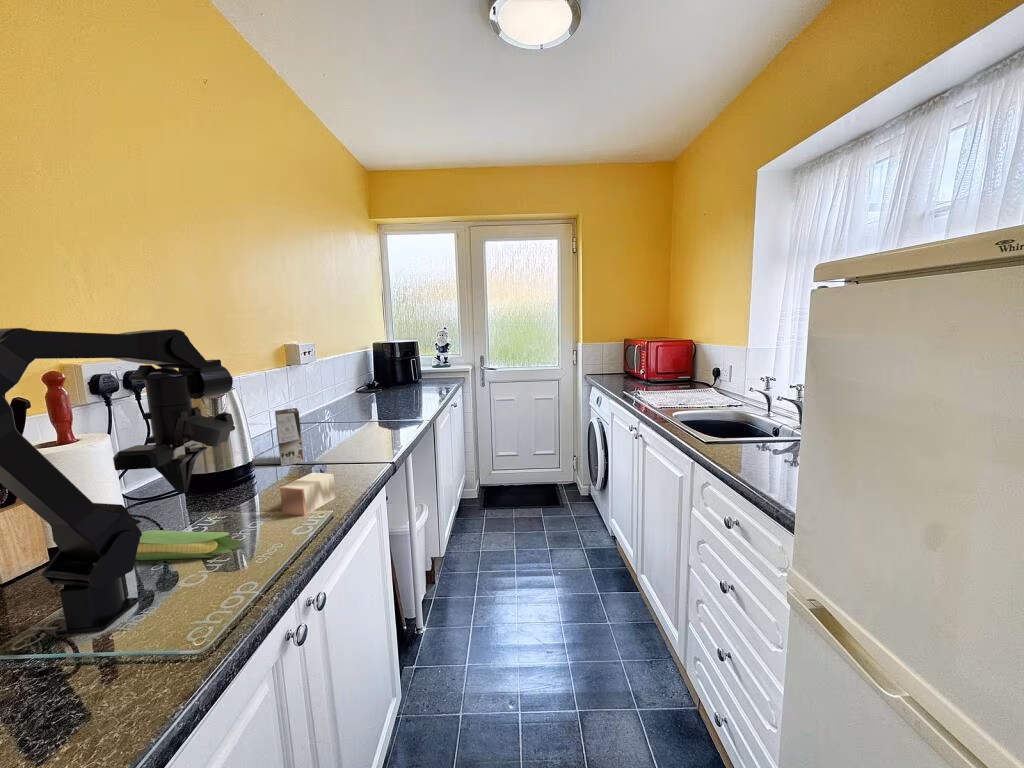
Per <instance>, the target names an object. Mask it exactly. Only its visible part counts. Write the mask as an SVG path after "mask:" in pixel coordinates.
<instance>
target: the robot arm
mask: <svg viewBox="0 0 1024 768" xmlns="http://www.w3.org/2000/svg"><path fill="white" fill-rule="evenodd" d="M36 359H37V360H40V359H41V360H42V359H43V360H45V359H46V360H48V359H49V360H51V359H52V360H53V359H55V360H57V359H59V360H60V359H65V360H67V359H114V360H120V361H125V362H129V363H135V364H142V365H139V366H138V368H137V369H136V370H135V371H134V372H132V374H131V373H130V375H129V377H128V380H129V381H132V382H133V381H140V382H141V381H142V382H144V385H145V386H144V387H145V392H146V399H147V407H148V408H147V409H148V411H147V412H143V413H142V420H144V421H145V420H150V427H151V434H152V435H151V436H149V437H145V440H146V444H139V445H138V444H137V445H136V444H135V445H133V446H130V447H128V448H124V449H122V450H119V451H117V452H116V454H115V455H114V456H113V457H112V460H113V461H112V462H113V467H114V470H115V471H127V470H128V471H131V470H145V469H146V470H147V469H148V470H149V469H155V470H156V471H157V472H158V473H159V474H161V476H162V477H163V478H165V480H166V481H167V482H168V483H169V484H170V486H171V487H172V488H173V489H174V490H175V491H176V492H177V494H183V493H184V494H185V493H186V492H188V490H189V486H190V482H191V477H192V474H193V470H194V466H195V462H196V460H197V458H199V456H200V455H201V454H203V452H204V451H206V450H207V449H208V447H214V448H215V447H218V446H219V445H220V444H223V443H227V442H228V441H229V438H230V433H231V432H234V431H235V430H236V426H235V422H234V419H233V418H234V417H233V415H232V413H229V412H225V411H222V412H220V413H219V412H218V413H217V415H215V416H213V415H212V416H211V415H210V416H205V415H202V411H201V409H200V408H199V406H193V404H192V402H193V401H192V399H193V400H200V399H204V398H209V397H215V396H221V395H225V394H227V393H229V392H230V391H231V389H232V387H233V382H234V380H233V376H232V375H231V373H230V371H229V370H228V368H226V367H225V366H224V365H222V360H221V359H219V358H218V359H206V358H205V357H204V355H202V354H201V353H200V352H199V350H198V349H197V348H196V347H195V346H194V344H192V342H191V341H190V339H189V336H188V335H186V333H185V332H184V331H183V330H181V329H178V328H177V329H175V328H173V329H170V328H169V329H168V328H167V329H144V330H136V331H128V332H121V333H104V332H103V333H101V332H78V331H57V330H56V331H54V330H50V331H49V330H32V329H29V328H25V327H9V328H7V327H6V328H5V327H4V328H0V484H1V485H2V486H3V487H5V488H6V489H7V490H8V491H9V492H11V493H12V494H13V495H14V496H15V497H16V498H18V500H20V501H21V502H23V503H24V504H25V505H26V506H27V507H28V508H30V509H31V510H32V511H33V512H34V513H35V514H37V515H38V516H39V517H41V518H42V519H43V520H44V521H45V522H46V523H47V524H49V526H50V529H51V534H52V541H53V542H54V544H55V545H56V546H57V548H58V551H57V552H56V553H55V555H54V556H53V557H52V559H51V560H50V562H48V564H47V566H45V568H44V569H43V571H42V573H41V577H43V578H44V579H45V581H46V582H47V583H48V584H49V585H55V584H56V585H63V586H62V587H63V588H62V589H60V590H59V595H60V596H59V597H60V600H61V606H62V612H63V617H64V622H63V623H62V624H60V625H58V627H56V628H55V629H54V630H53V632H54V634H55V635H57V634H69V633H70V634H71V633H82V632H83V633H84V632H92V631H102V630H105V629H107V628H108V627H109V626H110V625H112V624H113V623H114V622H116V621H117V620H118V619H120V618H121V617H122V616H123V615H124V614H125V613H126V612H128V611H129V610H130V609H132V607H134V606H135V605H136V604H137V603H138V602H140V598H139V596H138V597H129V589H128V584H127V583H128V582H127V578H126V575H127V574H129V573H132V572H133V571H134V567H135V563H136V559H135V558H136V553H137V549H138V544H139V542H140V537H141V536H142V532H143V531H142V530H141V528H140V527H139V525H138V524H140V523H141V520H140V519H136V518H134V517H133V516H132V514H131V513H130V511H129V510H128V509H127V508H126V507H125V506H124V505H123V504H119V503H101V502H93V501H92V500H91V499H90V498H89V497H87V495H85V494H84V492H82V491H81V490H80V489H79V487H77V486H76V485H75V483H72V481H71V480H70V479H69V478H67V476H66V475H65V474H64V473H62V472H61V471H60V470H59V469H58V468H57V467H56V466H55V465H54V464H53V463H52V462H51V461H50V460H49V459H47V457H46V456H45V455H43V454H42V452H40V451H39V450H38V449H37V448H36V447H35V446H34V445H33V444H32V443H31V442H30V441H29V440H28V439H27V438H25V437H24V435H22V433H20V432H19V430H18V429H17V427H16V422H15V417H14V411H13V408H12V406H11V405H10V403H9V401H8V400H7V399H6V397H5V396H4V395H6V393H8V392H9V391H10V390H12V389H13V387H15V386H16V385H17V384H18V383H19V381H20V380H21V378H22V377H23V375H24V373H25V372H26V369H28V366H29V365H30V364H31V363H32V362H34V361H35V360H36ZM143 364H144V365H143ZM153 365H154V366H157V368H156V367H154V366H153ZM199 443H200V444H204V446H200V444H199Z"/></svg>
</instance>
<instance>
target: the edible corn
mask: <svg viewBox="0 0 1024 768" xmlns="http://www.w3.org/2000/svg"><path fill="white" fill-rule="evenodd" d="M141 532H142V536H141V537H140V542H139V544H138V549H137V553H136V558H135V560H138V561H160V560H178V559H179V560H184V559H209V558H210V559H211V558H217V556H216V557H215V556H213V555H208V554H215V553H216V554H218V553H219V554H220V553H222V554H223V553H233V551H232V550H231V549H235V548H237V547H240V546H241V545H242V544H243V542H242V541H240V540H239V539H235V538H231V537H228V536H229V535H230V532H226V531H225V532H224V531H221V532H220V531H218V532H217V531H184V530H183V531H181V530H180V531H178V530H164V529H162V530H160V529H150V530H145V531H141Z"/></svg>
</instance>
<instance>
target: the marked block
mask: <svg viewBox="0 0 1024 768" xmlns="http://www.w3.org/2000/svg"><path fill="white" fill-rule="evenodd" d="M335 487H336V486H335V478H334V474H333V473H325V472H311V473H309V474H306V475H305V476H302V477H300V478H298V479H296V480H293V481H291V482H289V483H287V484H285V485H283V486H280V487H279V492H280V500H281V501H280V502H281V511H282V514H286V515H296V516H303V517H304V516H307V515H308V514H310V513H312V512H314V511H315V510H318V509H319V508H320V507H322V506H324V505H326V504H328V503H329V502H331V501H332V500H335V499H336V490H335Z"/></svg>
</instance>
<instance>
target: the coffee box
mask: <svg viewBox="0 0 1024 768" xmlns="http://www.w3.org/2000/svg"><path fill="white" fill-rule="evenodd" d="M274 413H275V414H274V415H275V425H276V433H277V436H276V437H277V443H278V453H279V459H280V461H279V462H280V466H281V467H285V466H289V465H290V466H291V465H297V463H298V464H303V463H304V454H303V441H302V433H301V431H302V430H301V422H300V421H301V420H300V411H299V410H298V408H297V407H293V408H286V409H279V410H275V411H274Z"/></svg>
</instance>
